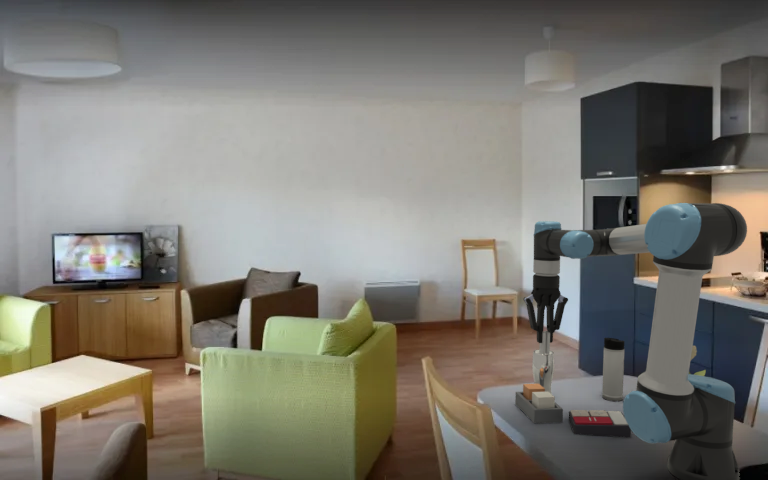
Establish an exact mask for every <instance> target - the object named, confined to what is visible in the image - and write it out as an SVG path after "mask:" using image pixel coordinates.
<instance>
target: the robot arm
mask: <svg viewBox="0 0 768 480" xmlns="http://www.w3.org/2000/svg"><path fill="white" fill-rule="evenodd" d="M747 235H748V226H747V221H746V219H745V217H744V216H743V214H742V213H741V212H740V211H739V210H738V209H737V208H735V207H733V206H731V205H728V204H725V203H721V202H720V203H719V202H715V203H713V202H712V203H710V202H709V203H706V202H705V203H704V202H703V203H700V202H697V203H696V202H693V203H692V202H691V203H690V202H688V203H687V202H678V203H669V204H666V205H663V206H660V207H659V208H658V209H657V210H655V211H654V212H653V213H651V215H650V216H649V218H648V220H647V222H646V223H642V224H636V225H630V226H629V225H628V226H622V227H614V228H612V227H611V228H604V229H573V230H571V229H562V224H561V222H560V221H550V220H549V221H548V220H545V221H544V220H542V221H541V220H540V221H537V222H535V224H534V232H533V270H532V272H533V273H534V274H533V276H532V291H531V294H529V295H528V296H524V297H523V298H522V299H523V301H524V303H525V305H526V310H527V314H528V320H529V326H530V329H532V330H533V331H535V332H536V343H538V344H539V348H538V350H539V353H541V354H542V355H545V354H547V355H550V351H551V350H550V349H551V344H552V343H553V342H554V333H555V332H556V331H559V330H560V328H561V324H562V321H563V320H562V319H563V315H564V310H565V306H566V304H568V302H569V298H568V297H566V296H563V295H562V294H561V291H560V284H561V283H560V282H561V281H560V280H561V277H560V275H559V274H560V273H561V257H564V258H569V259H572V260H575V259H577V260H578V259H580V260H581V259H582V260H583V259H585V258H590V257H618V256H622V255H634V254H646V253H650V255H652V256H653V258H652V259H653V260H652V263H653V264H654V265H655V266H656V268H657V269H658V278H657V285H656V293H655V299H654V309H653V314H652V324H651V330H650V339H649V345H648V353H647V361H646V368H645V371H643V372H642V373H641V374H639V375H638V377H637V383H636V388H635V390H631V391H630V392H629V393H627V394H626V395H625V397H624V398H623V402H622V403H623V404H622V410H623V412H622V413H623V415H624V417H625V419H626V422H627V423H628V425H629V427H630V429H631V432H633V433H632V434H634V435H635V436H636V437H637V438H638V439H640V440H641V441H643V442H646V443H648V444H658V443H660V444H666V443H668V442H671V441H674V444H673V445H672V447H671V451H670V453H669V455H668V457H667V470H668V472H669V473H670V474H671V475H673V476H674V477H675V478H677V479H678V480H740V477H739V476H740V475H741V474H740V473H739V472H740V468H739V465H738V463H737V459H736V456H735V452H734V449H733V439H734V438H733V437H734V419H735V404H736V401H735V389H734V387H733V386H732V385H731V384H729V383H728V382H725V381H723V380H720V379H717V378H714V377H710V376H705V375H704V376H700V375H694V374H692V373H690V374H689V372H690V366H691V361H692V360H691V353H692V346H694V339H695V331H696V324H697V317H698V311H699V303H700V297H701V296H700V295H701V290H702V284H703V277H704V276H705V275H706V274H707V273H709V272H710V271H712V270H713V263H714V258H715V257H721V256H726V255H729V254H732V253H733V252H735V251H737V250H738V249H739V248H740V247H741V246H742V245H743V244H744V242H745V240H746V238H747ZM534 301H535V303H536V308H537V310H536V311H537V312H536V311H535V307H534V304H533V303H534ZM557 301H558V302H557ZM556 302H557V304H556ZM555 304H556V309H555ZM545 310H546V330H544V325H545V323H544V322H545ZM554 310H555V312H554ZM554 313H555V314H554ZM690 360H691V361H690Z"/></svg>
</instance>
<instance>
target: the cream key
mask: <svg viewBox="0 0 768 480" xmlns="http://www.w3.org/2000/svg"><path fill="white" fill-rule="evenodd" d="M555 400H556V398H555V396H554V395H553V393H552V394H551V393H549V392H548V391H547V392H532V405H533V406H534V407H535V408H536V409H543V408H555V403H556V402H555Z"/></svg>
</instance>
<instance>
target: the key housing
mask: <svg viewBox="0 0 768 480" xmlns="http://www.w3.org/2000/svg"><path fill="white" fill-rule="evenodd" d="M514 396H515V397H514V398H515V400H514V401H515V406H517V408H519V410H520V409H521V410H522V411H523V412H524V413H525V414H526V415H527V416H528V417H529V418H530V419H531V420H530V419H529V418H528V417H527V418H528V419H529V420H530V422H532V423H533V424H534V423H536V424H554V423H553V422H559V423H563V421H564V418H563V416H564V408H563V407H561V406H560V405H559V404H558V403H557V402H555V408H543V409H536V408H535V407H534V406H533V405H532V400H527V399H526V398H525V397H524V396H523V391H515V395H514ZM523 412H522V413H523ZM524 413H523V414H524ZM525 414H524V415H525ZM526 415H525V416H526Z"/></svg>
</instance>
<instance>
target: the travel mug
mask: <svg viewBox="0 0 768 480" xmlns="http://www.w3.org/2000/svg"><path fill="white" fill-rule="evenodd" d="M603 344H604V345H603V359H602V360H603V361H602V363H603V364H602V389H601V391H602V393H601V394H602V395H601V396H602V398H603V399H604V400H606V401H611V402H620V401H622V400H624V398H623V396H624V395H623V394H624V373H625V371H624V370H625V340H620V339H619V338H614V337H604V338H603Z"/></svg>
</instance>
